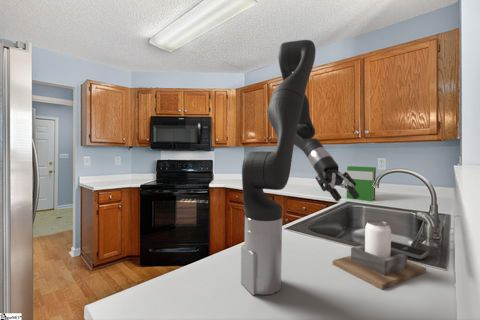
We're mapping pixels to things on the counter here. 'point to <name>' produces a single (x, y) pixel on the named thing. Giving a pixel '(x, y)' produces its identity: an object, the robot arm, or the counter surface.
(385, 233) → the can
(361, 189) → the green cereal box
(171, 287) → the counter surface
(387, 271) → the socket board
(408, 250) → the external hard drive
